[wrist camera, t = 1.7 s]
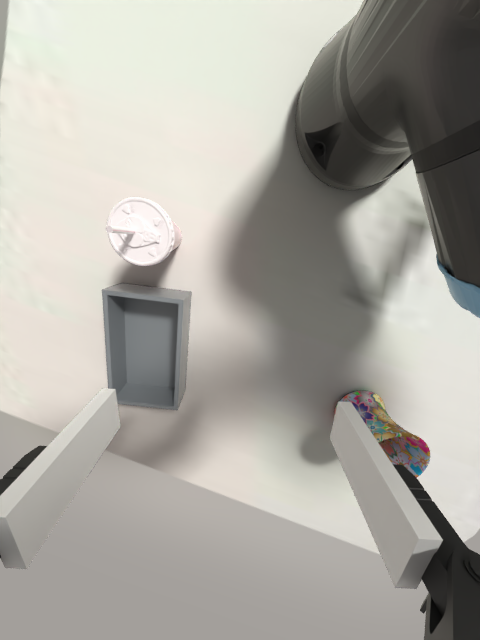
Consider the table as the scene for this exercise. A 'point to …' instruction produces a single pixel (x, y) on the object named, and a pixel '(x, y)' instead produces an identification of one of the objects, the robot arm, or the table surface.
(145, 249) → the smoothie
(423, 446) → the mug
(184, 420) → the table surface
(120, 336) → the tray
